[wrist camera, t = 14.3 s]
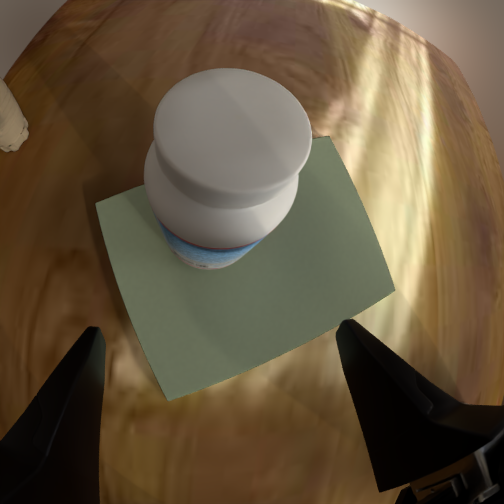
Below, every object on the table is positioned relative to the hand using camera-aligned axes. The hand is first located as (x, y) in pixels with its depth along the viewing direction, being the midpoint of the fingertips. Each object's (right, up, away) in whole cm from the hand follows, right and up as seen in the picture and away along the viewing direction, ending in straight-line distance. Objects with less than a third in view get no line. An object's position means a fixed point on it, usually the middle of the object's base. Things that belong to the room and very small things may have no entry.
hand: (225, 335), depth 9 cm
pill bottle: (-2, +5, +9) cm, 10 cm away
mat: (+1, +3, +10) cm, 10 cm away
